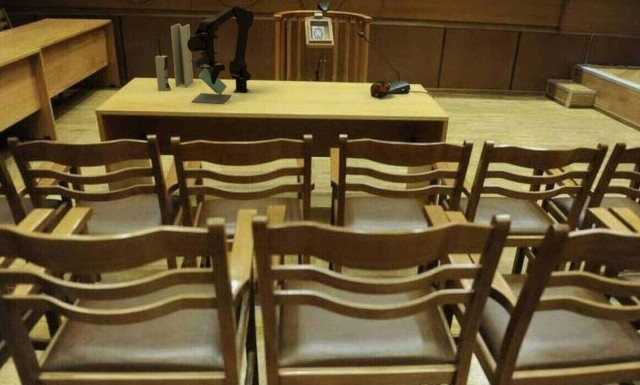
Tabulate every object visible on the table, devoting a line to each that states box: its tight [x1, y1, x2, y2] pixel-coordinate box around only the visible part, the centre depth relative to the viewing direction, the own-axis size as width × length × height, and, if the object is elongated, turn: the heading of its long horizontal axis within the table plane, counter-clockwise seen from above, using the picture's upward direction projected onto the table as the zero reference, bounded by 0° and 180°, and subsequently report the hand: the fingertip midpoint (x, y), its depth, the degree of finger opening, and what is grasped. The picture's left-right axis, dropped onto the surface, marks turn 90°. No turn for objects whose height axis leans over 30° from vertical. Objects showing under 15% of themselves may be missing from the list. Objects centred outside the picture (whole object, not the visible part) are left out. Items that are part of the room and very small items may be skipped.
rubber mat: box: [191, 92, 232, 105], centre depth 240 cm, size 16×15×1 cm
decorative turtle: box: [369, 80, 391, 99], centre depth 257 cm, size 10×15×8 cm, turn 155°
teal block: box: [198, 68, 228, 94], centre depth 238 cm, size 5×5×12 cm
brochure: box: [170, 23, 194, 89], centre depth 259 cm, size 14×6×30 cm, turn 179°
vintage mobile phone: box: [154, 38, 172, 92], centre depth 247 cm, size 4×5×25 cm
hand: (210, 83), depth 237 cm, fingers closed on teal block, 5 cm apart
